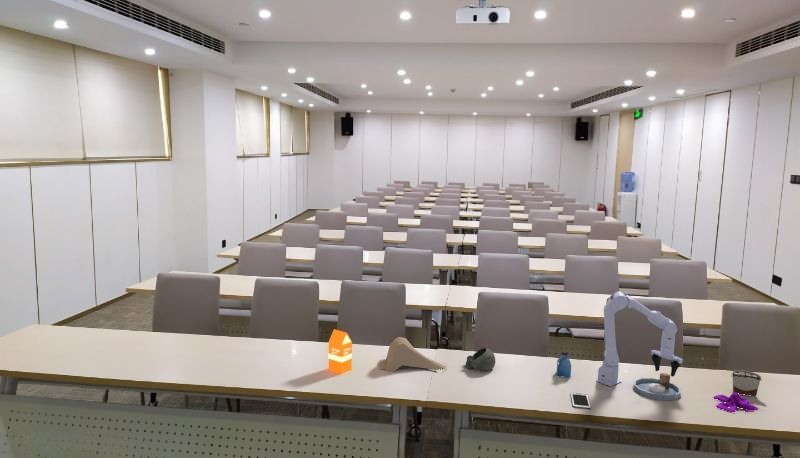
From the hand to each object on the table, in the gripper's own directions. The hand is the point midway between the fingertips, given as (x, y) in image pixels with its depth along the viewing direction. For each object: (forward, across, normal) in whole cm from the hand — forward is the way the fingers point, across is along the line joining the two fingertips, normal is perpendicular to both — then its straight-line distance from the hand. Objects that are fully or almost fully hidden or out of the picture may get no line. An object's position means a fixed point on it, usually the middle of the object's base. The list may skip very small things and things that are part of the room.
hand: (664, 373), depth 271 cm
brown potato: (+7, 0, 0) cm, 7 cm away
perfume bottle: (+8, +37, +27) cm, 47 cm away
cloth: (+8, -29, -10) cm, 32 cm away
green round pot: (+8, +67, +56) cm, 87 cm away
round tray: (+7, 0, +6) cm, 10 cm away
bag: (+8, +87, +84) cm, 121 cm away
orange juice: (+8, +103, +117) cm, 156 cm away
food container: (+7, -24, -27) cm, 37 cm away
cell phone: (+8, +13, +46) cm, 49 cm away
